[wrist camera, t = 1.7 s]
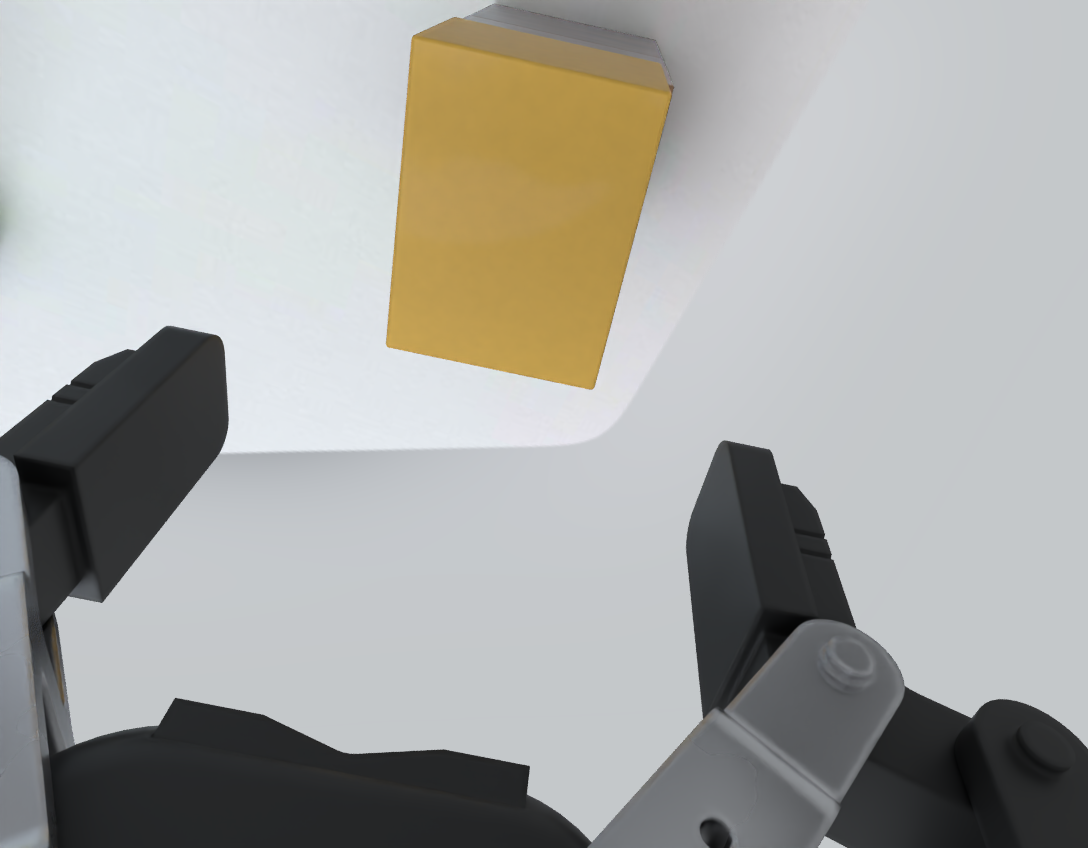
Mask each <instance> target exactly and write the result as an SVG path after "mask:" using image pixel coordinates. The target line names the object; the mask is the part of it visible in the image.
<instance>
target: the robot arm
mask: <svg viewBox="0 0 1088 848" xmlns="http://www.w3.org/2000/svg"><path fill="white" fill-rule="evenodd" d="M228 421H229V417H228V400H227V383H226V367H225V352H224V345H223V342H222V340H221V338H220V337H219V336H217V335H213V334H208V333H203V332H198V331H193V330H188V329H184V328H179V327H174V326H166V327H164V328H163V329H161V330H160V331H159V332H158V333H157V334H155V335H154V336H153V337H152V338H151V339H149V340H148V341H147V342H146V343H145V344H144V345H142V346H141V347H140V348H139V349H138V350H136V351H134V350H129V349H127V350H124V351H122V352H119V353H117V354H114V355H112V356H109V357H106V358H104V359H101V360H99V361H96V362H94V363H93V364H91V365H90V366H89V367H88V368H86V369H85V370H84V371H83V372H82V373H80V374H79V375H78V376H77V377H75V378H74V379H73V380H72V381H71V384H70V385H65V386H64V387H63V388H62V389H60V390H59V391H58V392H57V393H55V394H54V395H53V396H52V400H51V401H50V400H47V401H45V402H44V403H43V404H42V405H40V406H39V407H38V408H37V409H35V410H34V411H33V412H32V413H30V414H29V415H28V416H27V417H25V418H24V419H23V420H22V421H20V422H19V423H18V424H17V425H15V426H14V427H13V428H12V429H10V430H9V431H8V432H7V433H5V434H4V435H3V436H2V437H0V848H818V846H819V845H820V843H821V841H822V840H823V838H824V836H826V837H828V838H830V839H832V840H834V841H836V842H838V843H840V844H841V845H843V846H845V847H847V848H1088V749H1087V747H1086V746H1085V745H1084V744H1083V743H1082V742H1081V741H1080V740H1079V739H1078V738H1077V737H1076V736H1075V735H1074V734H1073V733H1072V732H1071V731H1070V730H1069V729H1067V728H1066V727H1065V726H1063V725H1062V724H1061V723H1060V722H1058V721H1057V720H1055V719H1054V718H1052V717H1051V716H1049V715H1048V714H1046V713H1044V712H1042V711H1040V710H1038V709H1036V708H1034V707H1032V706H1029V705H1027V704H1024V703H1020V702H1017V701H1012V700H1003V699H998V700H992V701H989V702H987V703H985V704H984V705H983V706H982V707H981V708H980V709H979V710H978V711H977V712H976V714H975V715H974V716H973V717H972V718H970V717H968V716H966V715H963V714H961V713H959V712H957V711H954V710H952V709H950V708H948V707H946V706H944V705H941V704H939V703H937V702H935V701H932V700H931V699H928V698H926V697H924V696H922V695H920V694H918V693H916V692H914V691H912V690H910V689H909V688H907V687H905V686H904V680H903V677H902V674H901V671H900V670H899V668H898V666H897V664H896V662H895V661H894V660H893V658H892V657H891V656H890V654H889V653H887V651H886V650H885V649H884V648H883V647H882V646H881V645H880V644H879V643H878V642H876V641H875V640H874V639H872V638H871V637H869V636H868V635H867V634H865V633H863V632H862V631H860V630H858V629H856V626H855V623H854V620H853V617H852V614H851V611H850V608H849V605H848V602H847V599H846V596H845V593H844V591H843V587H842V584H841V581H840V578H839V575H838V572H837V569H836V566H835V563H834V560H831V555H832V554H831V551H830V548H829V545H828V542H827V540H826V539H824V536H825V533H824V530H823V527H822V524H821V522H820V518H819V516H818V513H817V510H816V509H815V508H814V507H813V505H812V504H811V503H810V502H809V501H808V500H807V498H806V497H805V496H804V495H803V494H802V492H801V491H800V490H799V489H798V487H796V486H790V485H786V484H781V482H780V479H779V475H778V472H777V469H776V465H775V461H774V458H773V455H772V452H771V451H770V450H769V449H764V448H759V447H754V446H749V445H744V444H740V443H735V442H730V441H722V442H721V443H720V444H719V446H718V448H717V450H716V452H715V455H714V457H713V460H712V462H711V465H710V468H709V470H708V473H707V475H706V478H705V481H704V483H703V486H702V489H701V491H700V494H699V496H698V499H697V501H696V504H695V507H694V510H693V512H692V515H691V519H690V522H689V527H688V532H687V541H686V553H687V563H688V573H689V583H690V592H691V603H692V613H693V622H694V633H695V643H696V652H697V662H698V672H699V682H700V692H701V702H702V712H703V720H702V721H701V722H700V723H699V724H698V725H697V726H696V728H695V729H694V730H693V731H692V732H691V733H690V734H689V735H688V736H687V738H686V739H685V740H684V741H683V742H682V743H681V744H680V745H679V746H678V748H677V749H676V750H675V751H674V752H673V753H672V754H671V755H670V757H669V758H668V759H667V760H666V761H665V762H664V763H663V764H662V766H660V768H659V769H658V770H657V771H656V772H655V773H654V774H653V775H652V776H651V778H650V779H649V780H648V781H647V782H646V783H645V784H644V785H643V786H642V788H641V789H640V790H639V791H638V792H637V793H636V794H635V795H634V796H633V798H632V799H631V800H630V801H629V802H628V803H627V804H626V805H625V806H624V808H623V809H622V810H621V811H620V812H619V813H618V814H617V815H616V816H615V818H614V819H613V820H612V821H611V822H610V823H609V824H608V825H607V826H606V828H605V829H604V830H603V831H602V832H601V833H600V834H599V835H598V836H597V838H596V839H595V840H594V841H593V842H591V841H590V840H589V839H588V838H587V837H586V836H585V835H584V834H583V833H582V832H581V831H580V830H579V829H578V828H577V827H576V826H574V825H573V824H572V823H571V822H569V821H568V820H567V819H566V818H565V817H563V816H562V815H561V814H559V813H558V812H556V811H555V810H553V809H552V808H550V807H549V806H547V805H546V804H544V803H542V802H541V801H539V800H537V799H535V798H533V797H531V796H529V795H527V787H528V777H529V770H530V766H527V765H521V764H516V763H511V762H506V761H501V760H495V759H490V758H485V757H480V756H474V755H469V754H464V753H459V752H454V751H449V750H426V751H406V752H386V753H368V754H367V753H366V754H348V753H343V752H340V751H337V750H335V749H333V748H331V747H329V746H327V745H325V744H323V743H321V742H319V741H316V740H314V739H312V738H310V737H308V736H306V735H304V734H302V733H300V732H298V731H296V730H294V729H292V728H290V727H287V726H285V725H283V724H281V723H279V722H277V721H275V720H273V719H271V718H269V717H267V716H265V715H261V714H256V713H251V712H246V711H240V710H235V709H230V708H225V707H220V706H215V705H210V704H204V703H199V702H194V701H189V700H183V699H178V698H175V699H174V701H173V702H172V704H171V706H170V707H169V709H168V711H167V713H166V714H165V716H164V718H163V719H162V721H161V723H160V725H159V726H148V727H142V728H135V729H129V730H123V731H119V732H115V733H111V734H107V735H103V736H99V737H96V738H94V739H91V740H88V741H85V742H82V743H79V744H76V745H75V743H74V737H73V732H72V726H71V718H70V711H69V704H68V697H67V689H66V682H65V674H64V667H63V660H62V653H61V645H60V638H59V631H58V624H57V621H56V617H55V613H54V612H55V611H56V610H57V608H58V607H59V606H60V605H61V604H62V602H63V601H64V600H65V599H66V598H67V596H70V597H75V598H80V599H85V600H90V601H96V602H100V603H102V602H103V601H104V600H105V599H106V597H107V596H108V595H109V593H110V592H111V591H112V590H113V588H114V587H115V586H116V585H117V583H118V582H119V581H120V580H121V578H122V577H123V576H124V574H125V573H126V572H127V571H128V569H129V568H130V567H131V566H132V564H133V563H134V562H135V560H136V559H137V558H138V557H139V555H140V554H141V553H142V552H143V550H144V549H145V548H146V546H147V545H148V544H149V543H150V541H151V540H152V539H153V537H154V536H155V535H156V534H157V532H158V531H159V530H160V528H161V527H162V526H163V525H164V524H165V522H166V521H167V520H168V518H169V517H170V516H171V515H172V513H173V512H174V511H175V510H176V508H177V507H178V506H179V504H180V503H181V502H182V501H183V499H184V498H185V497H186V495H187V494H188V493H189V492H190V490H191V489H192V488H193V486H194V485H195V484H196V483H197V481H198V480H199V479H200V478H201V476H202V475H203V474H204V473H205V471H206V470H207V469H208V467H209V466H210V465H211V464H212V462H213V461H214V460H215V459H216V457H217V456H218V454H219V453H220V451H221V449H222V447H223V444H224V442H225V438H226V435H227V430H228Z"/></svg>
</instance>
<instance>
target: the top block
mask: <svg viewBox="0 0 1088 848" xmlns="http://www.w3.org/2000/svg"><path fill="white" fill-rule="evenodd" d="M671 97H672V95H671V91H670V88H669V85H668V83H667V80H666V77H665V74H664V71H663V68H662V66H661V64H660V63H658V62H653V61H649V60H644V59H640V58H635V57H631V56H627V55H622V54H618V53H613V52H609V51H604V50H600V49H595V48H591V47H586V46H582V45H578V44H573V43H569V42H564V41H560V40H555V39H551V38H546V37H542V36H538V35H533V34H529V33H524V32H520V31H515V30H511V29H506V28H502V27H497V26H493V25H489V24H484V23H480V22H475V21H471V20H466V19H462V18H457V17H454V18H451V19H449V20H447V21H444V22H442V23H440V24H438V25H435V26H433V27H431V28H429V29H427V30H424V31H422V32H420V33H418V34H416V35H413V37H412V40H411V52H410V64H409V76H408V88H407V100H406V112H405V124H404V136H403V148H402V159H401V171H400V183H399V195H398V207H397V219H396V231H395V243H394V255H393V267H392V278H391V290H390V302H389V314H388V326H387V338H386V345H387V347H389V348H394V349H399V350H404V351H408V352H413V353H418V354H423V355H428V356H432V357H437V358H442V359H447V360H452V361H456V362H461V363H466V364H471V365H475V366H480V367H485V368H490V369H495V370H499V371H504V372H509V373H514V374H518V375H523V376H528V377H533V378H538V379H542V380H547V381H552V382H557V383H561V384H566V385H571V386H576V387H581V388H585V389H590V390H591V389H593V388H594V387H595V383H596V380H597V376H598V372H599V368H600V365H601V361H602V357H603V353H604V349H605V346H606V342H607V338H608V334H609V331H610V327H611V323H612V319H613V316H614V312H615V308H616V304H617V301H618V297H619V293H620V289H621V285H622V282H623V278H624V274H625V270H626V267H627V263H628V259H629V255H630V252H631V248H632V244H633V240H634V237H635V233H636V229H637V225H638V221H639V218H640V214H641V210H642V206H643V203H644V199H645V195H646V191H647V188H648V184H649V180H650V176H651V173H652V169H653V165H654V161H655V157H656V154H657V150H658V146H659V142H660V139H661V135H662V131H663V127H664V124H665V120H666V116H667V112H668V109H669V105H670V101H671Z"/></svg>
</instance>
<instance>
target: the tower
mask: <svg viewBox="0 0 1088 848" xmlns="http://www.w3.org/2000/svg"><path fill="white" fill-rule="evenodd" d="M462 19H466V20H471V21H475V22H480V23H484V24H489V25H493V26H497V27H502V28H506V29H511V30H515V31H520V32H524V33H529V34H533V35H538V36H542V37H546V38H551V39H555V40H560V41H564V42H569V43H573V44H578V45H582V46H586V47H591V48H595V49H600V50H604V51H609V52H613V53H618V54H622V55H627V56H631V57H635V58H640V59H644V60H649V61H653V62H658V63H660V64H661V66H662V68H663V71H664V74H665V77H666V80H667V83H668V85H669V88H670V91H671V95H672V93H673V89H674V86H673V83H672V80H671V78H670V75H669V73H668V70H667V68H666V65H665V62H664V60H663V58H662V56H661V53H660V50H659V48H658V45H657V43H656V41H655V40H653V39H648V38H644V37H639V36H635V35H631V34H626V33H622V32H617V31H613V30H608V29H604V28H600V27H595V26H591V25H586V24H582V23H577V22H573V21H569V20H564V19H560V18H555V17H551V16H546V15H542V14H538V13H533V12H529V11H524V10H520V9H515V8H511V7H507V6H502V5H498V4H492V5H490V6H488V7H486V8H484V9H482V10H480V11H478V12H476V13H474V14H472V15H469V16H467V17H465V18H462Z"/></svg>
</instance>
